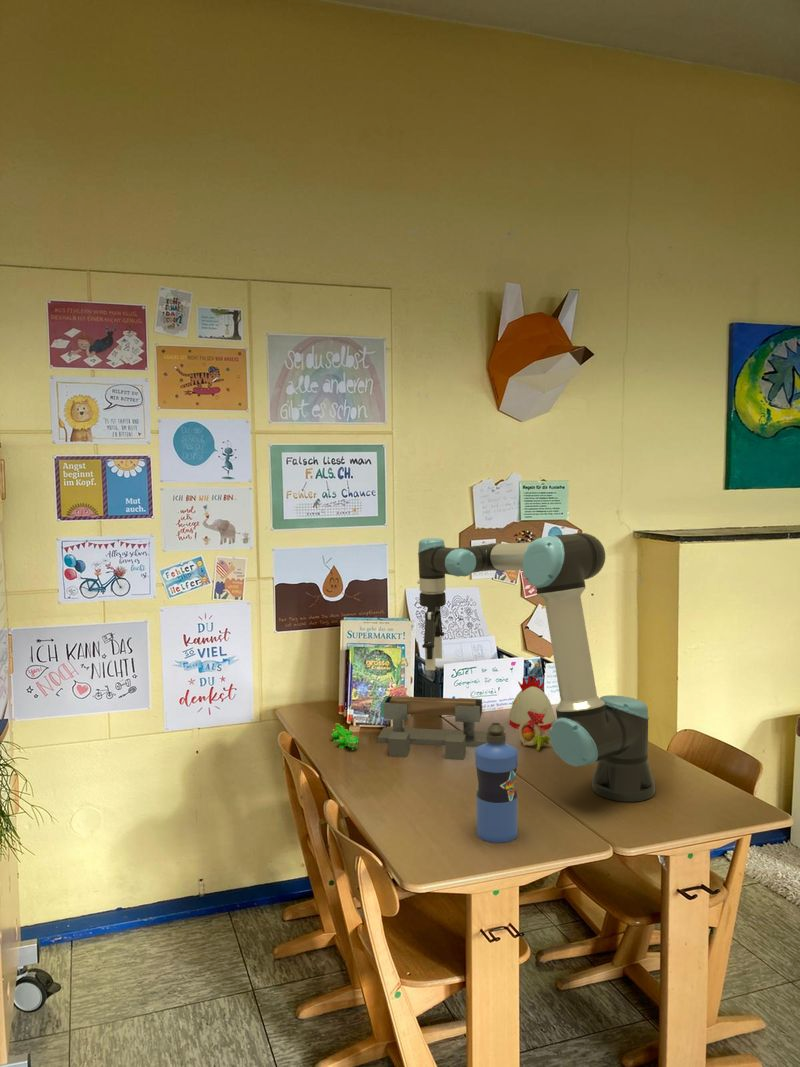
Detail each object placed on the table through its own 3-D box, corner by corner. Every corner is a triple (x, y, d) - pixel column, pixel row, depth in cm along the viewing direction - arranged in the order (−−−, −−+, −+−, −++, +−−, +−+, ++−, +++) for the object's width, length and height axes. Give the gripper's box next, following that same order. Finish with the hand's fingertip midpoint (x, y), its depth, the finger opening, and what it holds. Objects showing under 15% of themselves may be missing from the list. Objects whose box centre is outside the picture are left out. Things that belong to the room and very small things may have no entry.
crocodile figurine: (343, 755, 235) (343, 740, 235) (325, 735, 252) (325, 721, 252) (366, 751, 238) (365, 737, 237) (346, 732, 254) (346, 718, 254)
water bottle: (468, 836, 183) (466, 726, 181) (488, 820, 191) (486, 714, 189) (506, 847, 178) (505, 733, 176) (525, 830, 186) (524, 721, 184)
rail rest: (463, 759, 229) (463, 742, 229) (388, 756, 233) (388, 738, 233) (465, 751, 235) (465, 734, 234) (392, 748, 239) (392, 731, 238)
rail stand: (486, 747, 238) (486, 707, 237) (377, 742, 244) (376, 704, 243) (489, 736, 247) (488, 698, 246) (383, 732, 253) (383, 695, 252)
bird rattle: (520, 756, 236) (546, 749, 231) (506, 718, 238) (532, 711, 233) (531, 750, 241) (557, 743, 236) (517, 713, 243) (542, 705, 238)
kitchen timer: (503, 718, 264) (503, 672, 262) (545, 715, 266) (545, 669, 265) (517, 732, 250) (517, 684, 248) (561, 729, 252) (561, 680, 251)
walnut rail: (474, 716, 241) (474, 703, 240) (390, 713, 245) (389, 700, 245) (476, 712, 245) (476, 699, 244) (392, 709, 249) (392, 696, 249)
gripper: (426, 585, 254) (428, 653, 256) (412, 599, 230) (414, 674, 232) (450, 585, 253) (452, 653, 255) (439, 599, 228) (440, 675, 230)
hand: (434, 664), depth 243 cm, fingers open, 13 cm apart
